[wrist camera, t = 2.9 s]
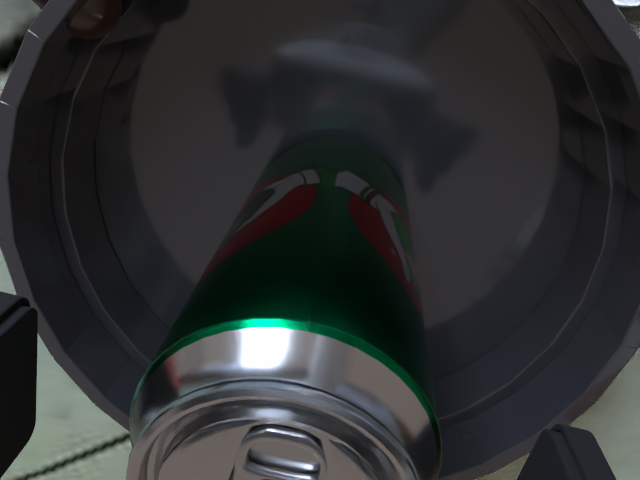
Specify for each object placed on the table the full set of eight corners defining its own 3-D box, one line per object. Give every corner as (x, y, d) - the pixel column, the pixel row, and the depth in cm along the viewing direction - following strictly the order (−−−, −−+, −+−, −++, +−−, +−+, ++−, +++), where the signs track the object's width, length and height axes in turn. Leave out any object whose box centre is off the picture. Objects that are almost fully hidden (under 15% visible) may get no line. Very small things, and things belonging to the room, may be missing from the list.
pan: (351, -282, 14) (341, -391, 10) (720, 225, 18) (819, 296, 14) (-26, 180, 20) (-127, 231, 16) (320, 474, 25) (308, 573, 20)
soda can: (247, 256, 20) (97, 585, 9) (267, 117, 18) (100, 330, 7) (387, 284, 20) (402, 647, 9) (423, 148, 18) (499, 411, 7)
